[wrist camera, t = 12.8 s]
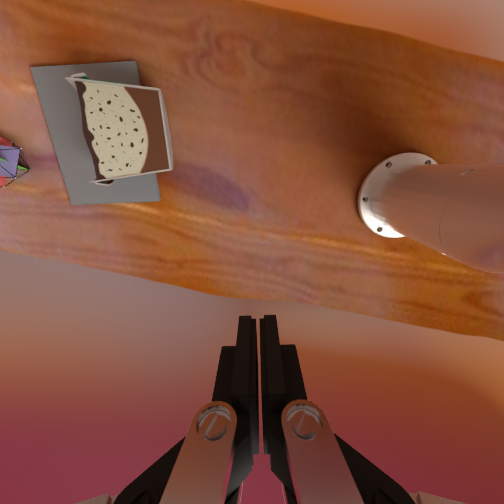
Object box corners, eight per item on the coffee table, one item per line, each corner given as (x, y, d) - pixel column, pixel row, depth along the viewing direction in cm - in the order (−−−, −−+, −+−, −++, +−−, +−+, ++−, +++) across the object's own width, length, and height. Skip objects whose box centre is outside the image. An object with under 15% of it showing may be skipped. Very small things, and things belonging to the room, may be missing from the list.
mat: (137, 62, 32) (134, 60, 31) (160, 200, 38) (159, 201, 37) (33, 68, 32) (30, 67, 31) (74, 204, 38) (71, 205, 38)
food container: (165, 93, 34) (88, 92, 32) (157, 73, 28) (63, 71, 27) (177, 182, 37) (108, 186, 36) (173, 182, 32) (90, 186, 30)
